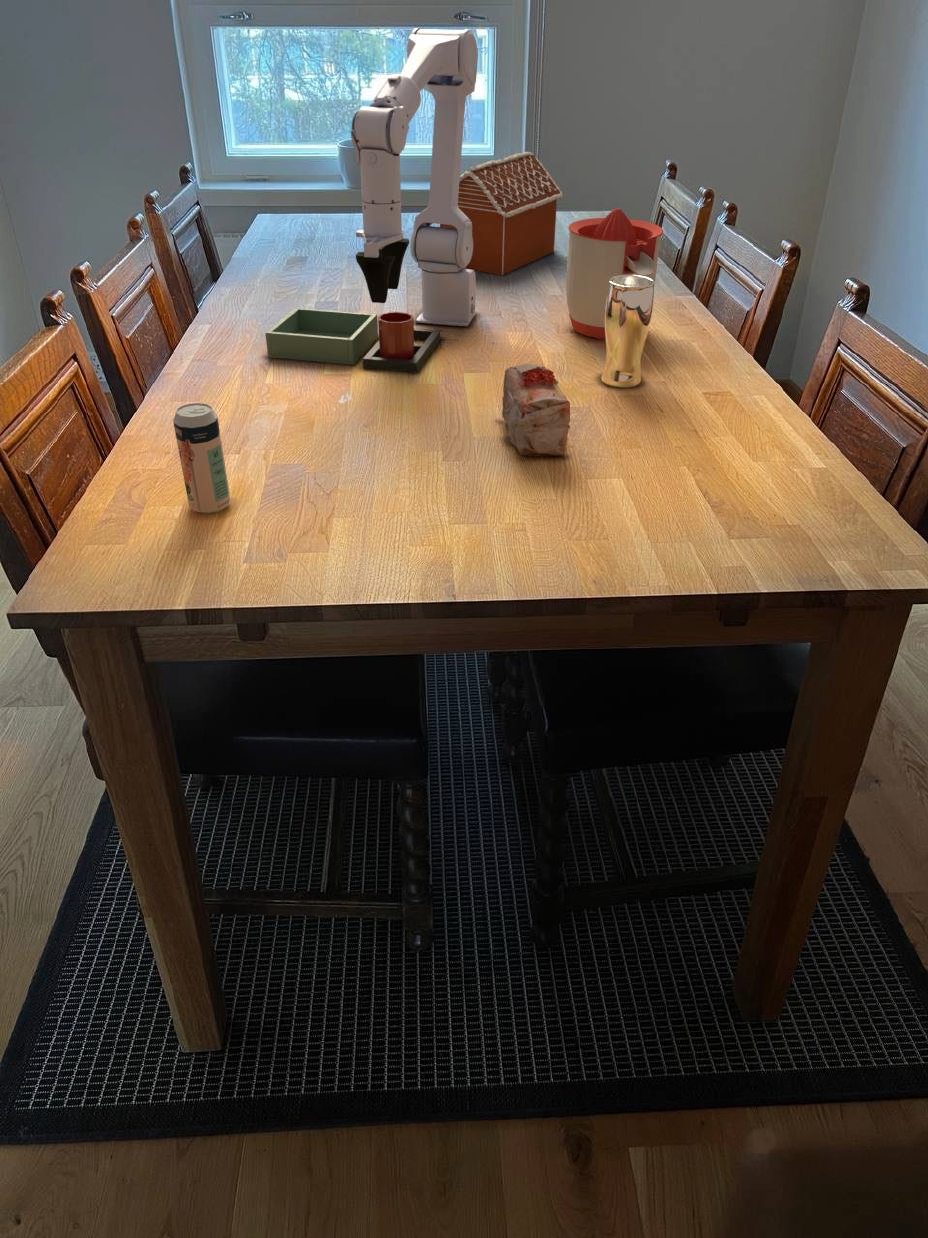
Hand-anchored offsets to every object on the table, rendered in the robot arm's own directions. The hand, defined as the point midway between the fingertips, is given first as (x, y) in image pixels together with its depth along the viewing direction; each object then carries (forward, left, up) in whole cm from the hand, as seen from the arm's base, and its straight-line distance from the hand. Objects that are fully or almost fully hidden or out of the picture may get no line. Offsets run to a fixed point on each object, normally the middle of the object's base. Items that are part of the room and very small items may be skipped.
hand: (385, 295), depth 142 cm
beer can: (+6, +52, -11) cm, 53 cm away
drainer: (-2, -4, -10) cm, 11 cm away
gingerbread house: (-6, -67, -11) cm, 68 cm away
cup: (-2, 0, -10) cm, 11 cm away
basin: (+12, -4, -10) cm, 16 cm away
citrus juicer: (-34, -23, -11) cm, 42 cm away
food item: (-28, +25, -11) cm, 38 cm away
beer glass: (-38, 0, -11) cm, 39 cm away
